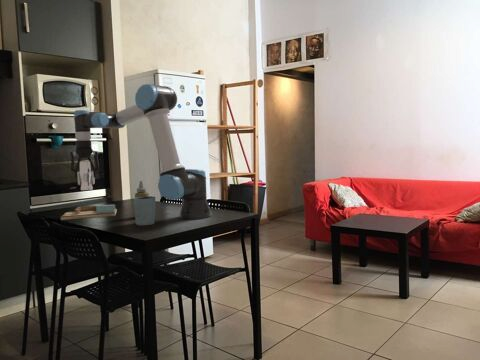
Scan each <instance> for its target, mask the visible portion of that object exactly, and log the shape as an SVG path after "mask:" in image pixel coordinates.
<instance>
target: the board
mask: <svg viewBox="0 0 480 360" xmlns="http://www.w3.org/2000/svg"><path fill="white" fill-rule="evenodd" d="M96 206H97V205H87V206H77V207H76V208H75V209H74V211H68V212H65V213H64V214H63V215H61V216H60V220H61V221H66V220H79V219H93V218H107V217H108V218H110V217H116V215H117V212H118V211H117V210H118V209H117V208H115V212H113V213H98V214H97V212H96Z"/></svg>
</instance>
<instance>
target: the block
mask: <svg viewBox="0 0 480 360" xmlns="http://www.w3.org/2000/svg"><path fill="white" fill-rule="evenodd" d="M95 206H96V212H97V214H98V213H113V212H115V209H116V204H104V205H103V204H102V205H95Z"/></svg>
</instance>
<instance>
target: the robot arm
mask: <svg viewBox="0 0 480 360" xmlns="http://www.w3.org/2000/svg"><path fill="white" fill-rule="evenodd" d="M177 103H178V96H177V93H176V91H175V90H174V89H172V88H171V87H169V86H165V85H159V84H153V83H145V84H141V86H139V88H138V89H137V91H136V92H135V104H134V105H131V106H129V107H127V108H124V109H121V110H119V111H117V112H115V113H105V112H93V113H90V111H89V110H88V109H77V110H75V111H74V113H73V119H74V133H75V147H76V149H75V151H71V152H70V153H69V154H70V157H71V158H70V159H71V165H70V170H71V172H74V174H75V175H74V176H75V179H77V185H78V186H81V179H80V175H79V162H81V161H82V159H87V161H91V165H92V169H93V172H92V185H95V178H97V171H99V170H100V164H99V152H98V151H96V150H93V148H92V140H91V139H92V135H91V130H92V129H122V128H125V127H126V125H128V124H131V123H134V122H136V121H138V120H141V119H144V118H146V119H148V121H149V125H150V128H151V132H152V136H153V141H154V144H155V146H156V152H157V154H158V159H159V162H160V166H161V171H160V172H159V175H160V178H159V179H158V182H157V188H158V191H159V193H160V194H161V196H162V197H163V198H165V199H166V200H169V201H173V200H174V201H175V200H176V201H177V200H180V199H182V203H181V207H180V211H179V219H185V220H196V219H197V220H199V219H206V218H210V217H211V216H212V212H211V208H210V206H209V203H208V200H207V197H208V196H207V175H206V171H205V170H203V169H196V168H195V169H194V168H193V169H190V168H187V169H186V167H185V166H184V165H182V164H181V161H180V157H179V154H178V150H177V147H176V143H175V139H174V135H173V132H172V128H171V124H170V120H169V117H168V114H169V112H170V111H172V110H173V109H175V107H176V106H177ZM76 154H77V156H78V159H77V163H76V162H75V156H76ZM92 154H93V156H94V161H95V164H94V162H93V160H92V156H91V155H92ZM75 163H76V166H75Z"/></svg>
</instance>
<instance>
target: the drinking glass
mask: <svg viewBox="0 0 480 360" xmlns="http://www.w3.org/2000/svg"><path fill="white" fill-rule="evenodd" d="M132 204H133V211H134V218H135V225H137V226H150V225H154V224H155V223H156V196H153V195H152V196H145V197H135V196H134V197H133V198H132Z"/></svg>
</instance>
